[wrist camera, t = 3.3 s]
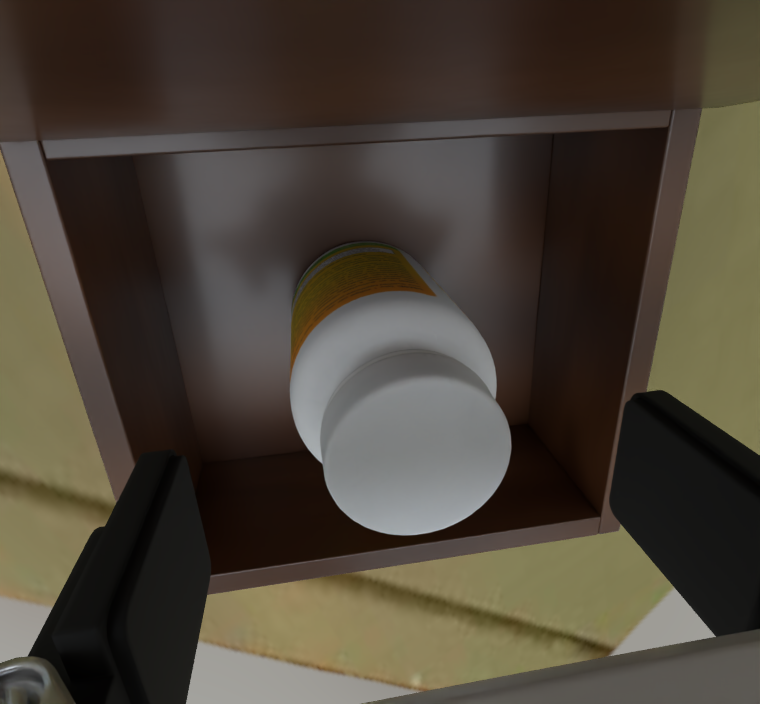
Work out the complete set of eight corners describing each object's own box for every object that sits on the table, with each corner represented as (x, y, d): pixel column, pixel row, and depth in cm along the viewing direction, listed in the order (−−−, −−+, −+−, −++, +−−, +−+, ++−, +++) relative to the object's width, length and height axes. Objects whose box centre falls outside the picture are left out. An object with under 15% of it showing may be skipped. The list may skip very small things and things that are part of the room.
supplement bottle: (263, 330, 19) (234, 506, 10) (343, 207, 18) (391, 287, 9) (379, 395, 21) (440, 592, 12) (460, 289, 19) (596, 423, 11)
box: (535, 426, 24) (619, 531, 17) (190, 469, 22) (148, 604, 16) (567, 101, 18) (707, 88, 12) (105, 123, 16) (-11, 119, 10)
